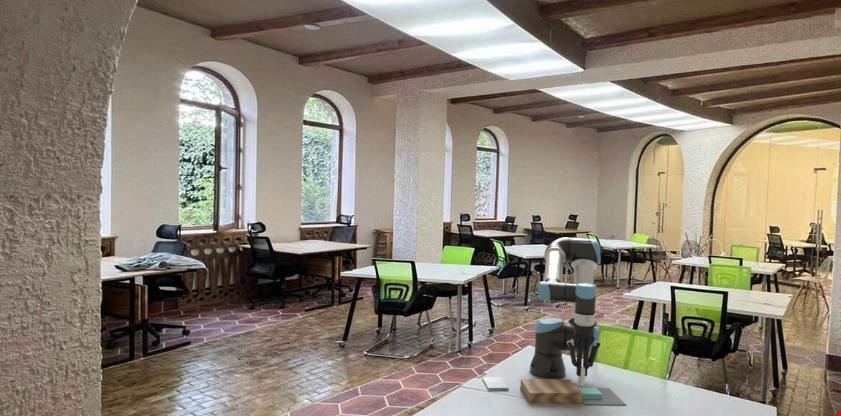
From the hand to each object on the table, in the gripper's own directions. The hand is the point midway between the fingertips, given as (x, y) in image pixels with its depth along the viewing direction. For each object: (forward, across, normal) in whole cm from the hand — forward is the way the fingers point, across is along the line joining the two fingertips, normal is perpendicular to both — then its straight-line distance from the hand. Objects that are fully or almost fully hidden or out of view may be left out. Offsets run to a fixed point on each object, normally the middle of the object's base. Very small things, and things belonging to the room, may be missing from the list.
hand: (581, 384), depth 206 cm
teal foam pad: (+5, +3, 0) cm, 5 cm away
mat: (+5, +6, 0) cm, 8 cm away
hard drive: (+6, -31, +11) cm, 34 cm away
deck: (+5, -12, 0) cm, 13 cm away
